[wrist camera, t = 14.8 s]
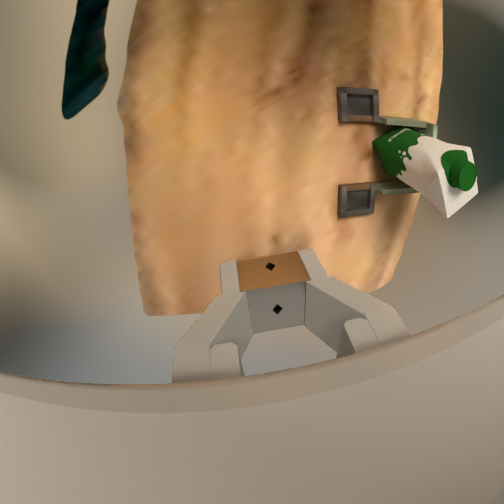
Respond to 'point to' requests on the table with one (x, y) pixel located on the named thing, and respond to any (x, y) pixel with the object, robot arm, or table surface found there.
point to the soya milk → (429, 167)
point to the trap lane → (367, 109)
